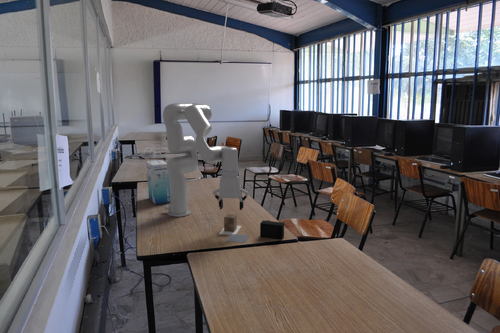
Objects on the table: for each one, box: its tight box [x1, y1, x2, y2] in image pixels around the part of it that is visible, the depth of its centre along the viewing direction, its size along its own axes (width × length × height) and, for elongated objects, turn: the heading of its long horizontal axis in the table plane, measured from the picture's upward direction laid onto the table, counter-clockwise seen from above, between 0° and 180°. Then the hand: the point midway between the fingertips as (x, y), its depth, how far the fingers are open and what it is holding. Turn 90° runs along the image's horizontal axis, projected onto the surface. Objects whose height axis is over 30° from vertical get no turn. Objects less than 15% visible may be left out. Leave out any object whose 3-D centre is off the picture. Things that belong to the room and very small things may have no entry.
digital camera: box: [259, 219, 285, 241], centre depth 173 cm, size 10×5×7 cm, turn 72°
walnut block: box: [223, 213, 238, 232], centre depth 181 cm, size 5×5×7 cm
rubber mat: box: [225, 234, 250, 244], centre depth 171 cm, size 9×9×1 cm
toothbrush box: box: [145, 159, 170, 206], centre depth 231 cm, size 18×10×24 cm, turn 27°
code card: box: [218, 225, 242, 236], centre depth 182 cm, size 8×13×1 cm, turn 169°
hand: (231, 209), depth 179 cm, fingers open, 9 cm apart
